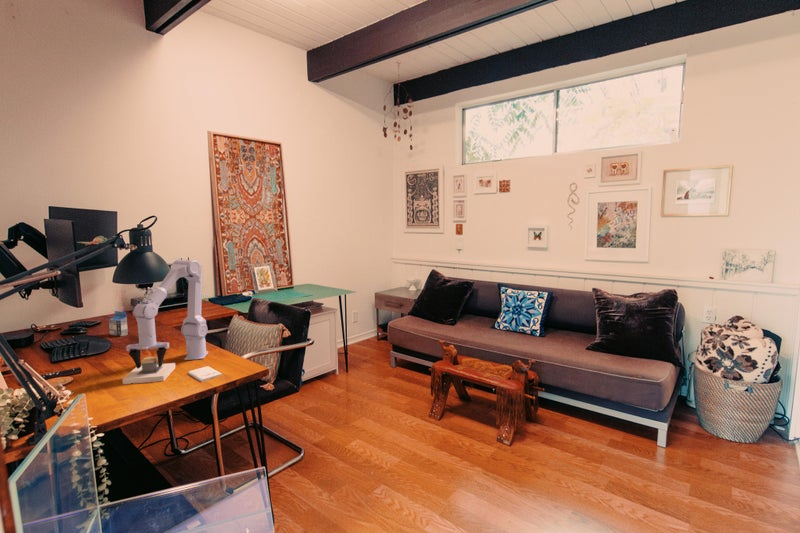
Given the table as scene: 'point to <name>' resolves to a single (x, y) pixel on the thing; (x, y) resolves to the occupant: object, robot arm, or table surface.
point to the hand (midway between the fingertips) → (149, 366)
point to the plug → (149, 364)
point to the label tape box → (118, 324)
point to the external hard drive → (204, 373)
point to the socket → (149, 374)
